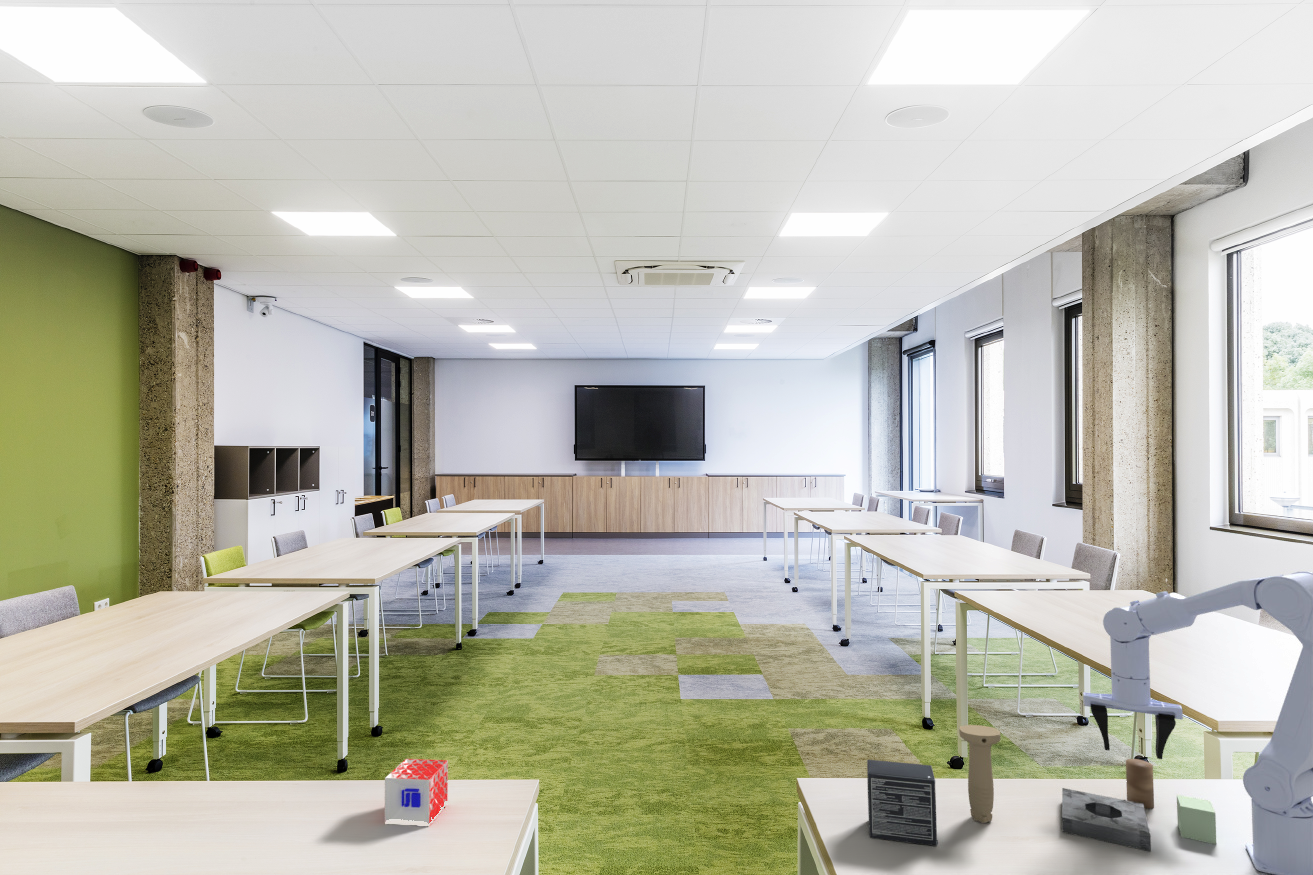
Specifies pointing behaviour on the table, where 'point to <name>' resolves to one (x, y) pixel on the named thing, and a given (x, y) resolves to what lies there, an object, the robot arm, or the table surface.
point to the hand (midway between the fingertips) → (1132, 752)
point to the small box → (902, 802)
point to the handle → (980, 769)
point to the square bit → (1196, 819)
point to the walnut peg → (1140, 782)
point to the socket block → (1105, 819)
